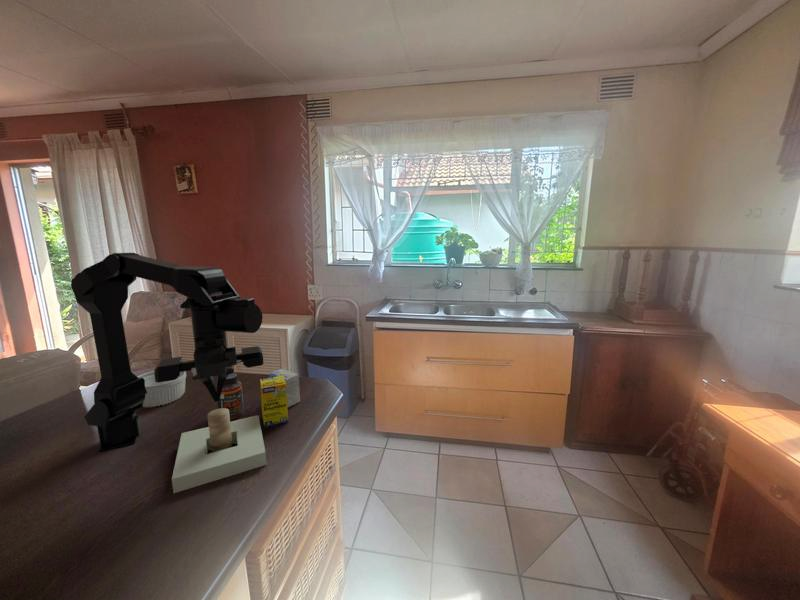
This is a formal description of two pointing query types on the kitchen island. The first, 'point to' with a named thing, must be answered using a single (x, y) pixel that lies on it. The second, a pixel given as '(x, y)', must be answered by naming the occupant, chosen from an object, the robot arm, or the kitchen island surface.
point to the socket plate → (218, 455)
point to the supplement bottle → (232, 396)
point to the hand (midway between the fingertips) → (217, 400)
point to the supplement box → (274, 401)
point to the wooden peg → (219, 429)
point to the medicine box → (289, 385)
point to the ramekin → (162, 389)
